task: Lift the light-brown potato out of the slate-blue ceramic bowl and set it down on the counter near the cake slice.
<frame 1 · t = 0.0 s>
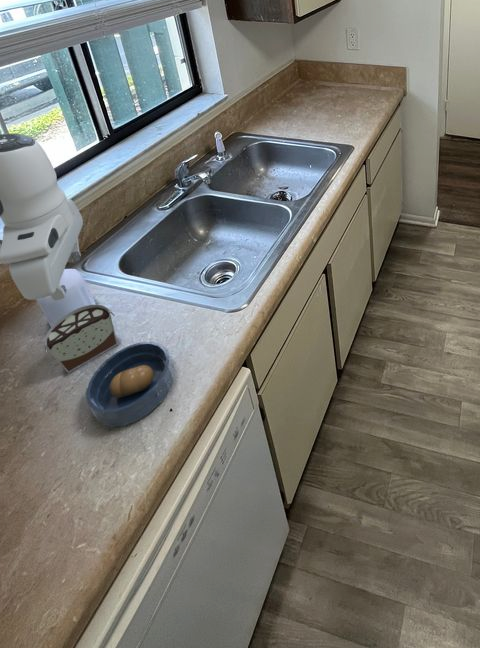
hand: (68, 277, 82), 26 cm above the worktop, tool pointing down, fingers open, 8 cm apart
soap bottle: (74, 315, 105), on the worktop
bowl: (136, 390, 88), on the worktop
cake slice: (90, 349, 97), on the worktop
potato: (135, 388, 88), point 1 cm above the worktop, touching bowl
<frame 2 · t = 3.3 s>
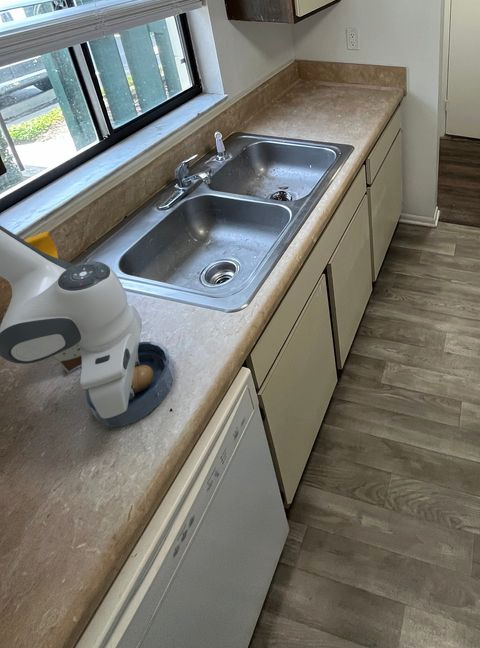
hand: (132, 382, 87), 3 cm above the worktop, tool pointing down, fingers closed on potato, 4 cm apart
potato: (135, 388, 88), point 1 cm above the worktop, touching bowl, gripper
everything else where it was.
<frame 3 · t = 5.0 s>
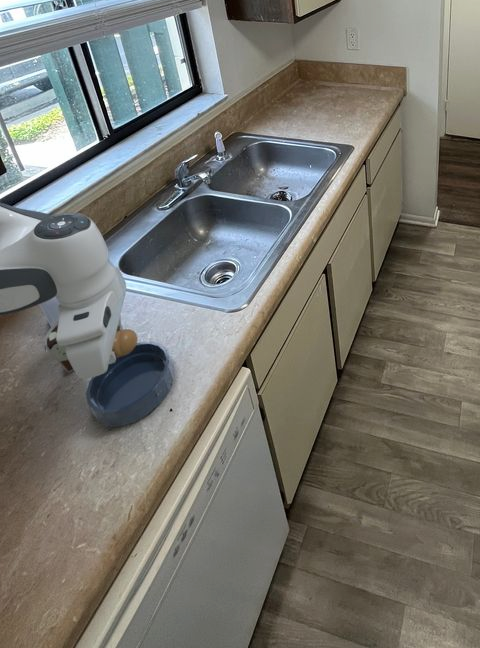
hand: (114, 346, 83), 13 cm above the worktop, tool pointing down, fingers closed on potato, 4 cm apart
potato: (117, 353, 83), point 11 cm above the worktop, touching gripper
everything else where it was.
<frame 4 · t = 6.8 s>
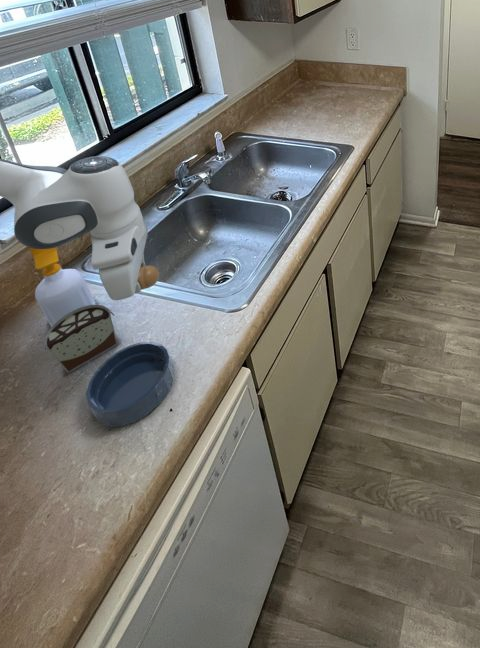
hand: (139, 280, 93), 17 cm above the worktop, tool pointing down, fingers closed on potato, 4 cm apart
potato: (141, 286, 94), point 15 cm above the worktop, touching gripper
everything else where it was.
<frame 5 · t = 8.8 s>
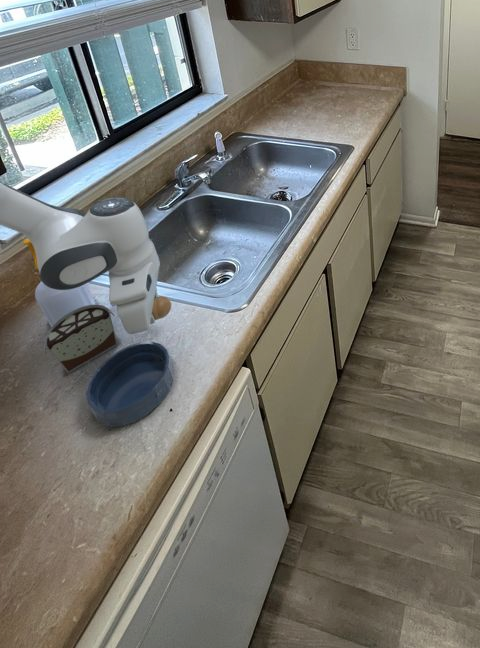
hand: (152, 311, 97), 7 cm above the worktop, tool pointing down, fingers closed on potato, 4 cm apart
potato: (155, 316, 98), point 5 cm above the worktop, touching gripper
everything else where it was.
when the fingers open (2 cm above the worktop, at t = 10.3 s): potato stays where it is, on the worktop.
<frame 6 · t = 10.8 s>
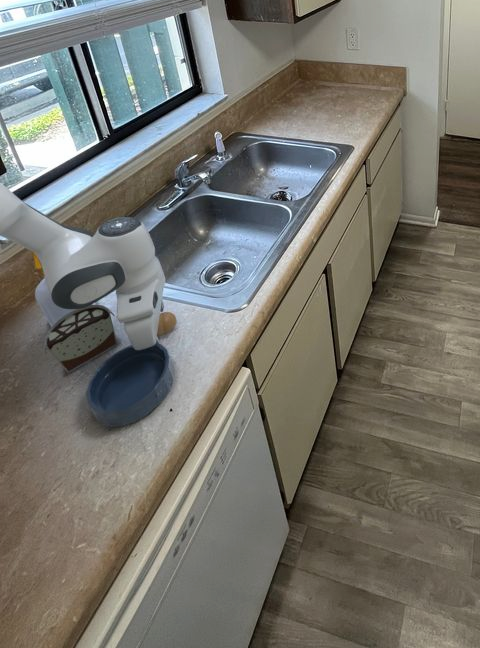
hand: (157, 326, 100), 2 cm above the worktop, tool pointing down, fingers open, 8 cm apart
potato: (160, 331, 100), on the worktop
everything else where it was.
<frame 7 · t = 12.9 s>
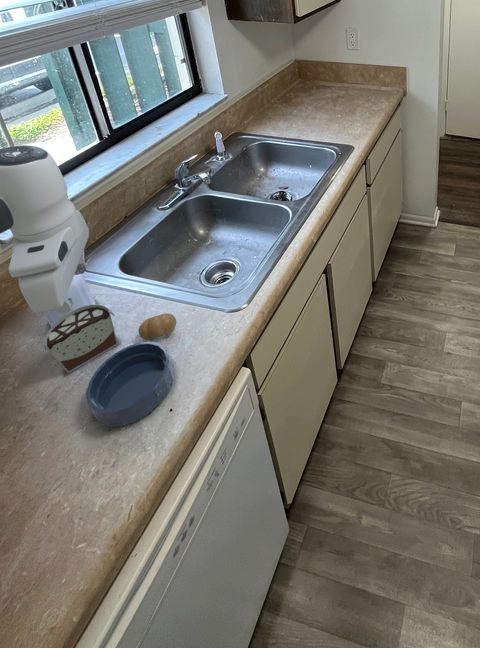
hand: (74, 289, 81), 24 cm above the worktop, tool pointing down, fingers open, 8 cm apart
potato: (160, 331, 100), on the worktop, tilted 12°
everything else where it was.
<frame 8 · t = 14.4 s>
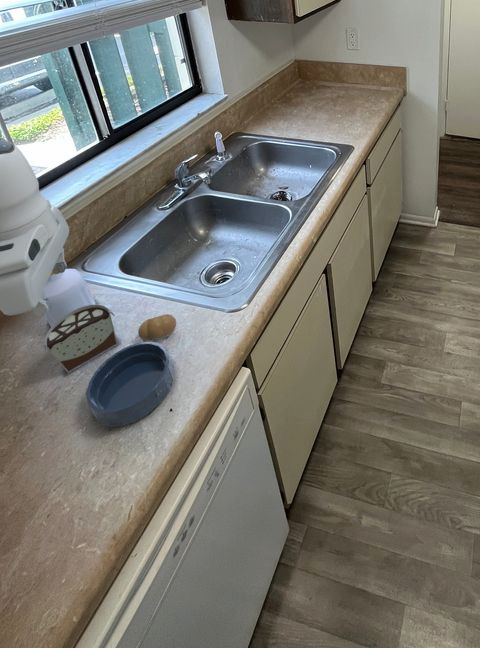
hand: (52, 289, 78), 27 cm above the worktop, tool pointing down, fingers open, 8 cm apart
potato: (160, 331, 100), on the worktop, tilted 19°
everything else where it was.
at the end: potato inside the target area (0.1 cm from its centre), on the worktop; potato 14.2 cm from the cake slice (horizontally); potato touching worktop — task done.
